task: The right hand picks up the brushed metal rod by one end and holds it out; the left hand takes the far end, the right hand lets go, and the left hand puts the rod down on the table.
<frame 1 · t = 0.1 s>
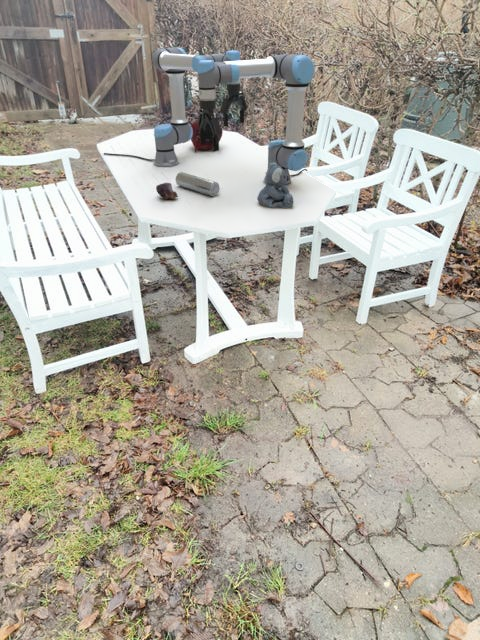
left hand: (234, 124, 259), 28 cm above the table, tool pointing down, fingers open, 13 cm apart
right hand: (209, 148, 216), 28 cm above the table, tool pointing down, fingers open, 13 cm apart
rock: (166, 198, 240), on the table
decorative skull: (206, 148, 327), on the table
rod: (197, 190, 249), on the table
koala plush: (274, 203, 232), on the table
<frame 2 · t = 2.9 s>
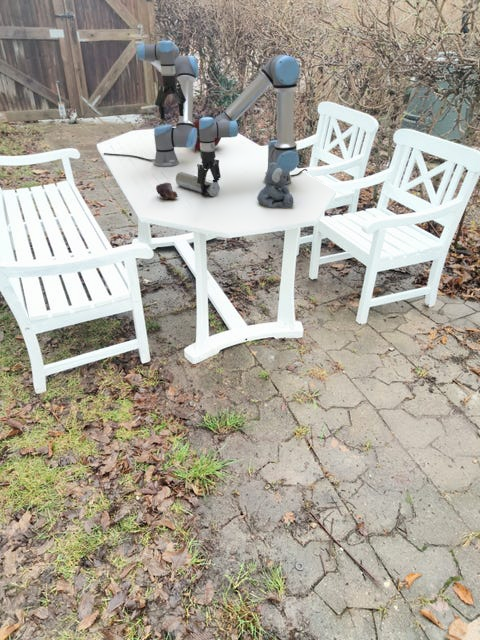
left hand: (172, 117, 252), 33 cm above the table, tool pointing down, fingers open, 13 cm apart
right hand: (209, 193, 244), 0 cm above the table, tool pointing down, fingers closed on rod, 8 cm apart
rod: (197, 190, 249), on the table, touching right hand
everything else where it was.
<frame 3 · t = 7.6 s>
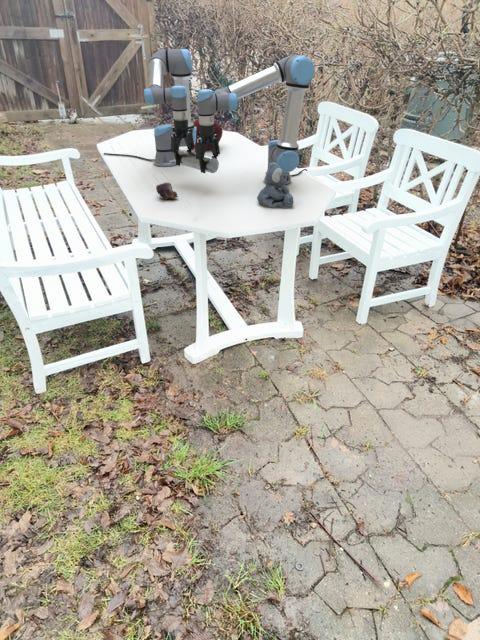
left hand: (184, 163, 247), 13 cm above the table, tool pointing down, fingers closed on rod, 8 cm apart
right hand: (208, 170, 236), 13 cm above the table, tool pointing down, fingers closed on rod, 8 cm apart
rod: (196, 168, 242), point 12 cm above the table, touching left hand, right hand
everything else where it was.
when the right hand's fingers open (13 cm above the table, at t = 8.6 s): rod stays where it is, held by the left hand.
when the left hand's fingers open (2 cm above the table, at t = 15.7 s): rod drops 1 cm, on the table.
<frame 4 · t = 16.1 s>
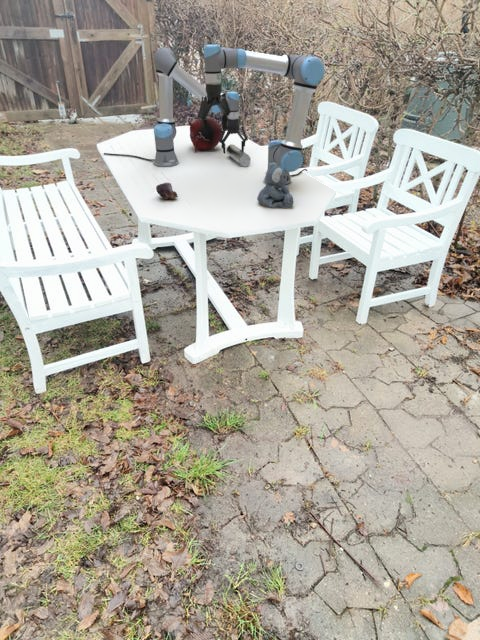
left hand: (233, 152, 304), 3 cm above the table, tool pointing down, fingers open, 12 cm apart
right hand: (215, 131, 222), 33 cm above the table, tool pointing down, fingers open, 13 cm apart
rod: (238, 161, 298), on the table
everything else where it was.
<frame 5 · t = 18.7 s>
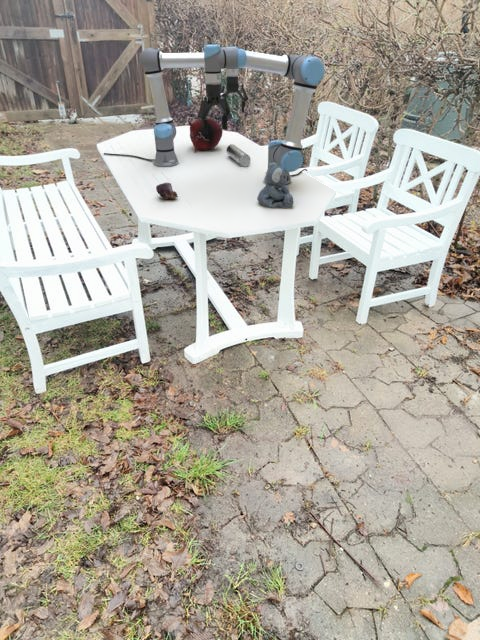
left hand: (232, 113, 290), 28 cm above the table, tool pointing down, fingers open, 13 cm apart
right hand: (215, 131, 222), 33 cm above the table, tool pointing down, fingers open, 13 cm apart
nothing on the table moved.
at the end: rod inside the target area (9.9 cm from its centre), on the table; the left hand is holding nothing; the right hand is holding nothing; rod at rest at the end (0.0 cm/s) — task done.
